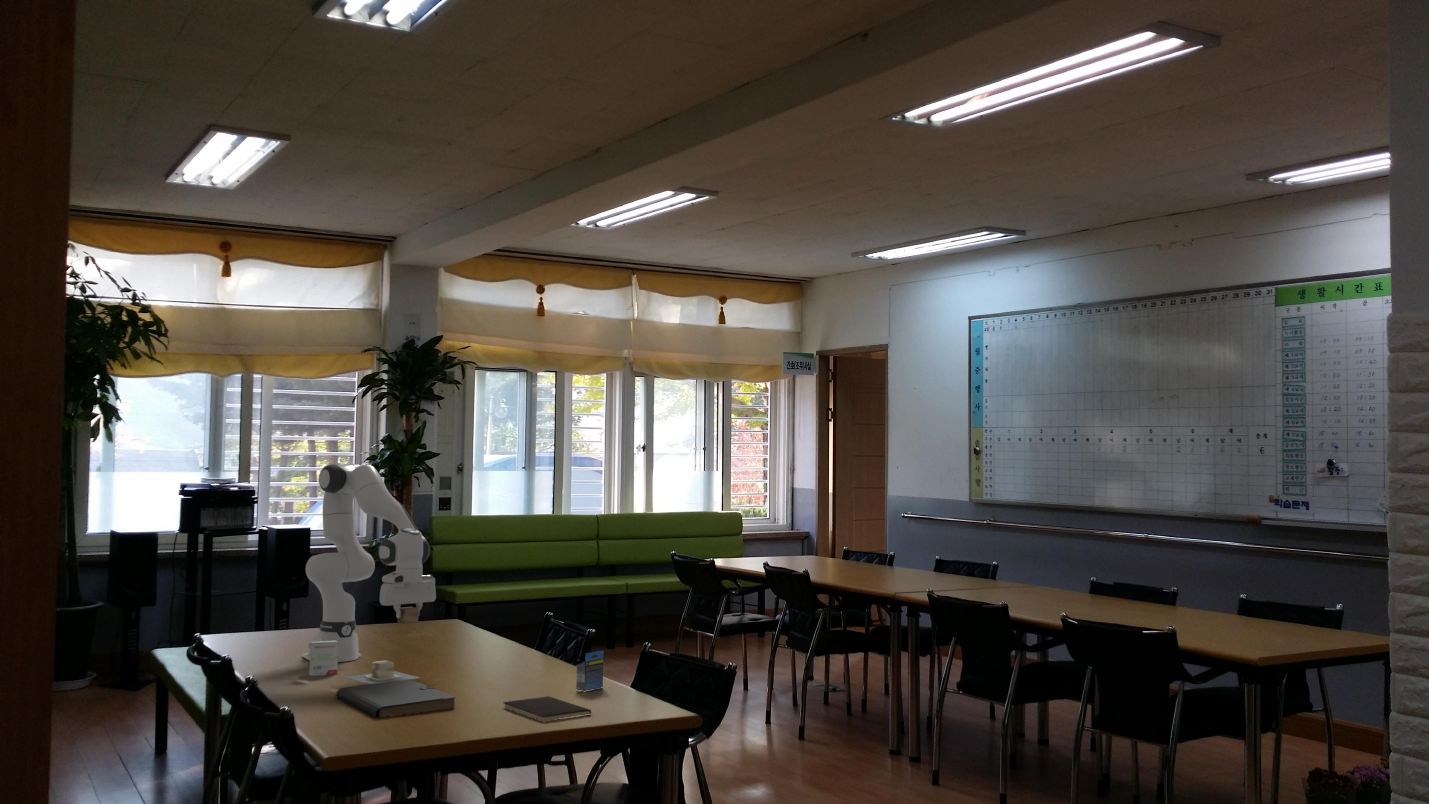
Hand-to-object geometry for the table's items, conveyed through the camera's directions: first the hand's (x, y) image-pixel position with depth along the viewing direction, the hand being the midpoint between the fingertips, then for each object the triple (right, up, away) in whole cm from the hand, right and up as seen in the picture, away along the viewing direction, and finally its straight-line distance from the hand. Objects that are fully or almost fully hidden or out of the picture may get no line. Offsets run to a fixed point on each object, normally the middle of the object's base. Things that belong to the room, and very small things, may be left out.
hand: (407, 616), depth 371 cm
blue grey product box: (+65, -19, -23) cm, 72 cm away
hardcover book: (+56, -17, -56) cm, 81 cm away
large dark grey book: (+10, -17, -48) cm, 52 cm away
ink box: (-26, -19, -8) cm, 33 cm away
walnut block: (0, -2, 0) cm, 2 cm away
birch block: (-5, -17, -13) cm, 22 cm away
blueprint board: (-5, -18, -13) cm, 23 cm away
